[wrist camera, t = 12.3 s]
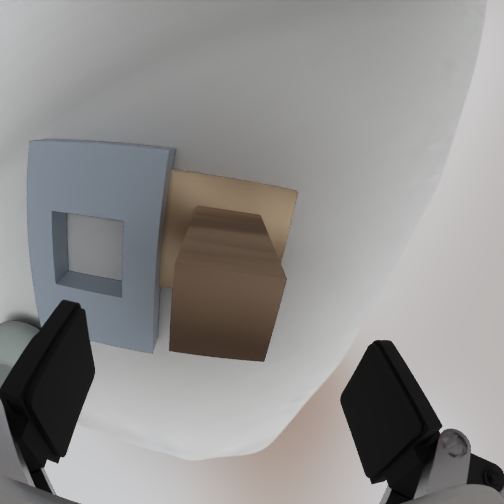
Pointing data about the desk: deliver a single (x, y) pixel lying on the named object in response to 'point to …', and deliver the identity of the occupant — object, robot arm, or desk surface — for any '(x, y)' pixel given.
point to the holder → (104, 206)
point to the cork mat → (223, 197)
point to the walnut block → (225, 287)
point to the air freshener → (13, 344)
